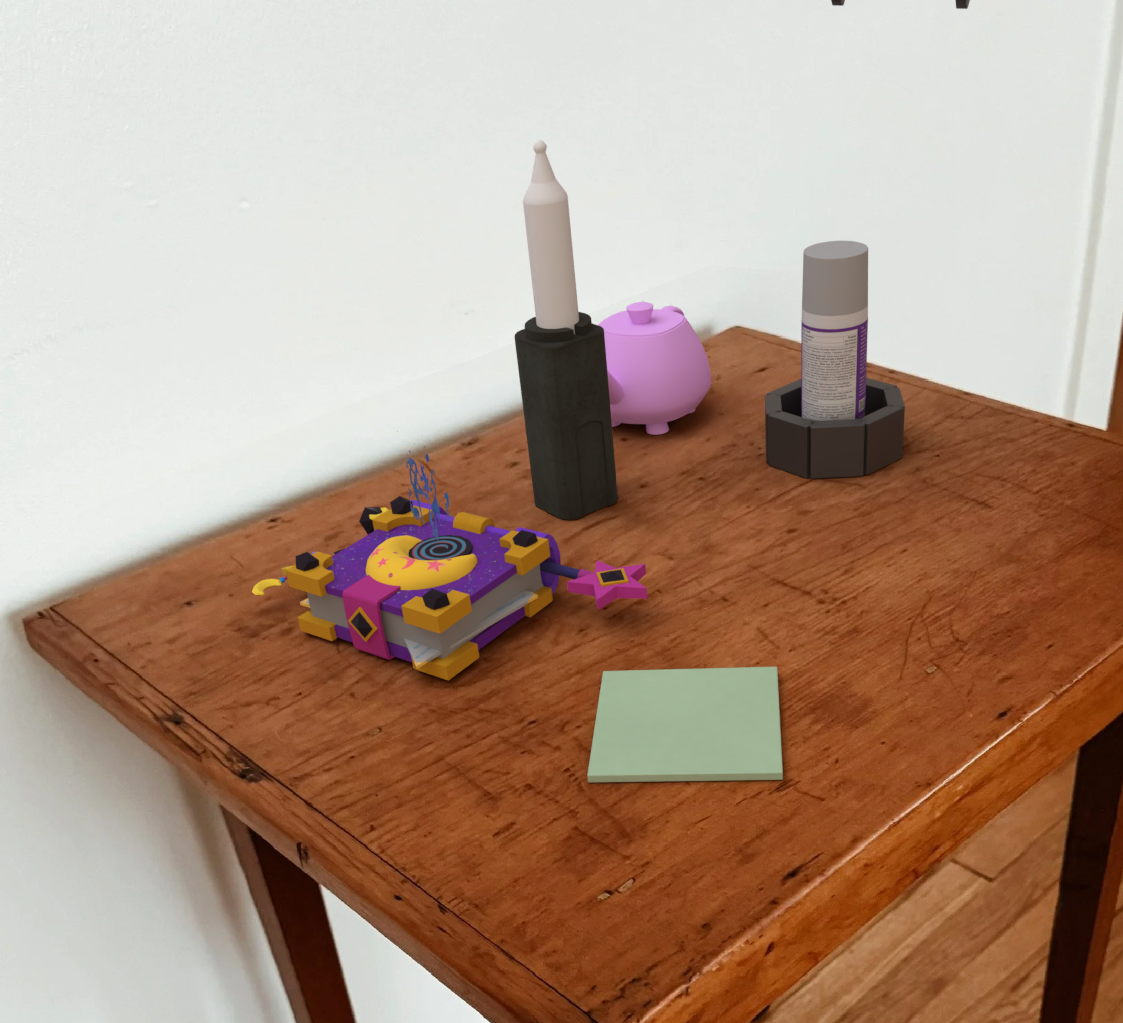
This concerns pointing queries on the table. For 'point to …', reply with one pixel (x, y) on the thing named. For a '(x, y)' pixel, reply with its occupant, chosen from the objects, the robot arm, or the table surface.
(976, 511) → the table surface
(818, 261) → the container
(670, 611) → the table surface
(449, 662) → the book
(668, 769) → the mat
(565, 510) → the candle
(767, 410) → the ring
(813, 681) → the table surface
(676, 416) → the teapot
